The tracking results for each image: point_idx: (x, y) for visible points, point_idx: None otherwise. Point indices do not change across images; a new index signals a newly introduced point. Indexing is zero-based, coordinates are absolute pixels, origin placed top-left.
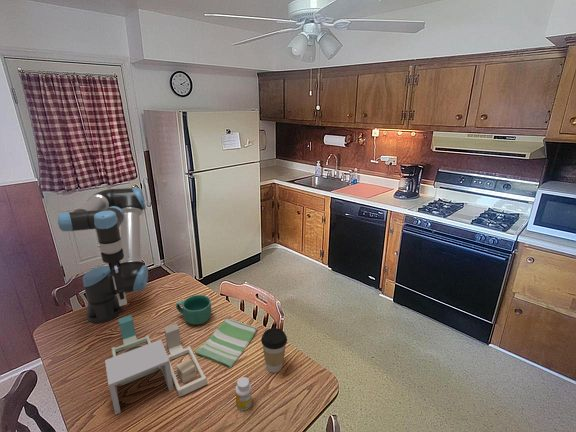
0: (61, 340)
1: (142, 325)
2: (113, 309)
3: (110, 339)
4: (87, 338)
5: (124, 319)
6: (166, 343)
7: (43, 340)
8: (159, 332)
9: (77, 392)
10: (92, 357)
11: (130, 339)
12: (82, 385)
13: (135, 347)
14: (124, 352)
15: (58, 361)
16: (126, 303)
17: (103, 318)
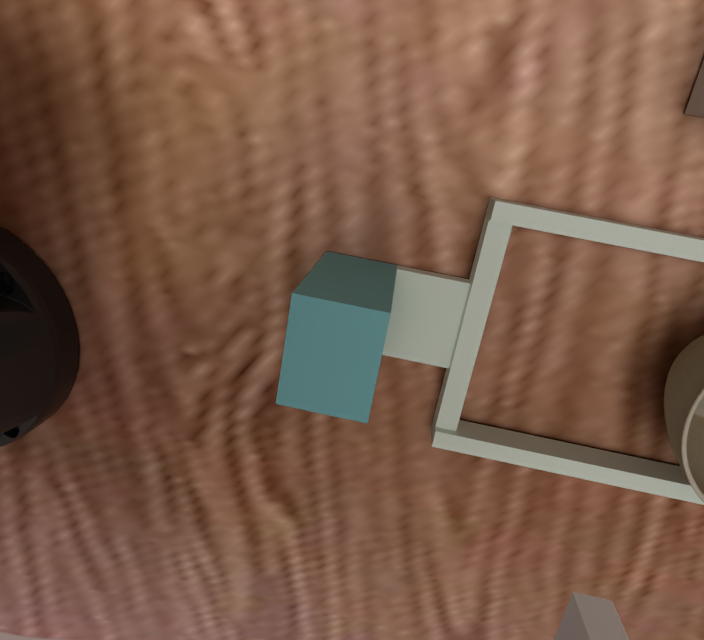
0: (121, 576)
1: (286, 170)
2: (3, 314)
3: None
4: (190, 484)
5: (325, 368)
6: (699, 113)
7: (68, 628)
8: (475, 92)
9: None
10: (388, 514)
11: (418, 314)
12: None
13: (697, 389)
14: (691, 474)
15: (293, 626)
16: (616, 625)
17: (56, 380)
